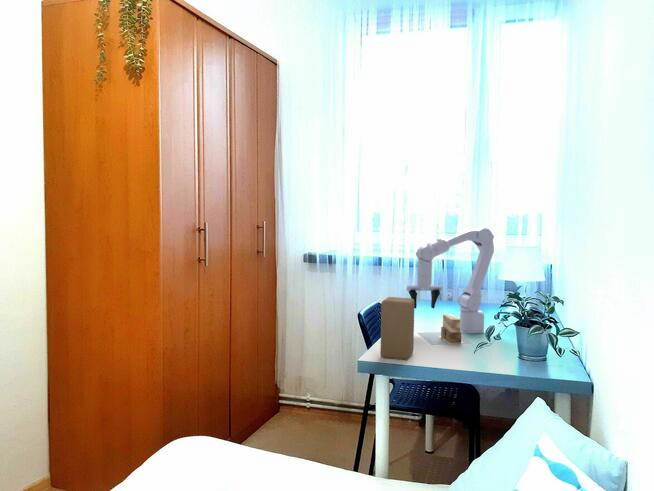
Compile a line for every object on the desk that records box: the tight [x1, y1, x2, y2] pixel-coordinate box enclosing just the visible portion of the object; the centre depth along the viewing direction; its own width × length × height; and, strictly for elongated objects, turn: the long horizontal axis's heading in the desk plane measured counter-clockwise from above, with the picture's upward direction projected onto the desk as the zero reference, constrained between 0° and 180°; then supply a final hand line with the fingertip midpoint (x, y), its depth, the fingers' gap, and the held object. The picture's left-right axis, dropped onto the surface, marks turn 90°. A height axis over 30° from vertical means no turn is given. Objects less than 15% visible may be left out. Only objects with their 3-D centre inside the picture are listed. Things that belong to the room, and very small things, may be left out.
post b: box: [446, 330, 462, 343], centre depth 220 cm, size 4×4×4 cm
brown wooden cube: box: [440, 326, 447, 339], centre depth 226 cm, size 4×4×4 cm
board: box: [417, 331, 473, 346], centre depth 226 cm, size 16×20×1 cm
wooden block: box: [380, 296, 415, 361], centre depth 198 cm, size 10×10×20 cm
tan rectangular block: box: [442, 314, 460, 332], centre depth 223 cm, size 4×10×5 cm, turn 7°
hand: (423, 307), depth 235 cm, fingers open, 7 cm apart
